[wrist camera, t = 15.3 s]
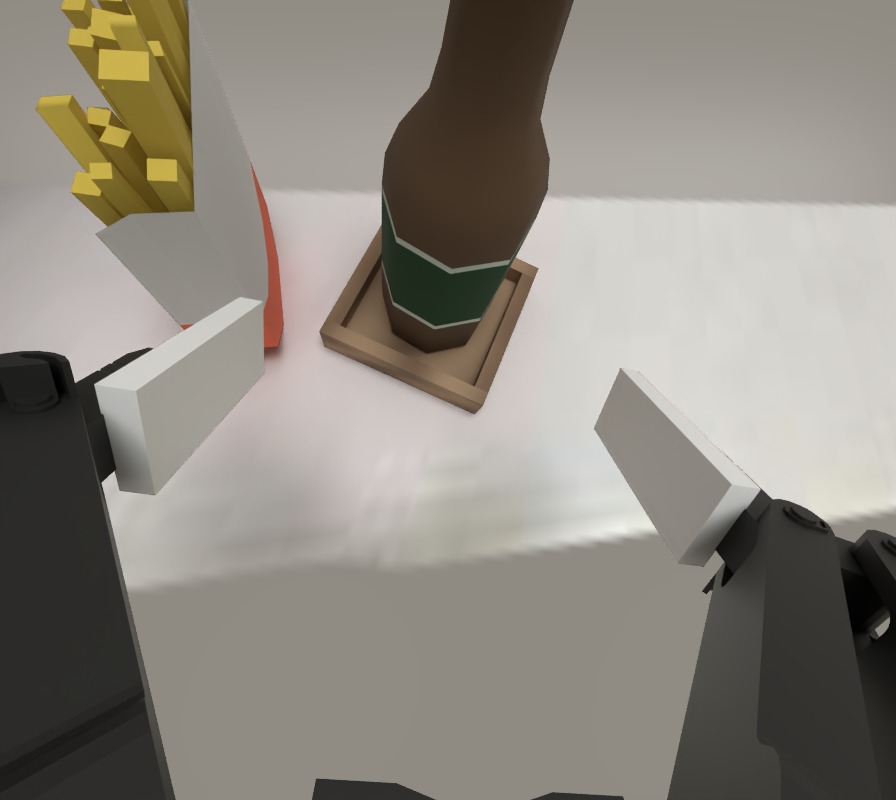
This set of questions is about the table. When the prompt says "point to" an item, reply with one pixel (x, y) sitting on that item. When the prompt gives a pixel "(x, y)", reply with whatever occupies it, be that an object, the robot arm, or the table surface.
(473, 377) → the wooden tray
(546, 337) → the table surface
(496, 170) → the beer bottle
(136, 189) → the french fries container
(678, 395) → the table surface
